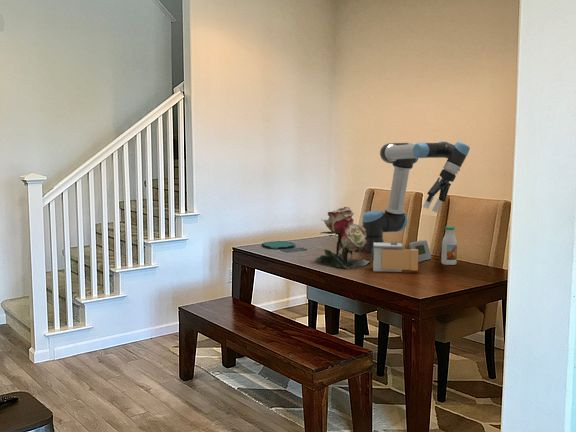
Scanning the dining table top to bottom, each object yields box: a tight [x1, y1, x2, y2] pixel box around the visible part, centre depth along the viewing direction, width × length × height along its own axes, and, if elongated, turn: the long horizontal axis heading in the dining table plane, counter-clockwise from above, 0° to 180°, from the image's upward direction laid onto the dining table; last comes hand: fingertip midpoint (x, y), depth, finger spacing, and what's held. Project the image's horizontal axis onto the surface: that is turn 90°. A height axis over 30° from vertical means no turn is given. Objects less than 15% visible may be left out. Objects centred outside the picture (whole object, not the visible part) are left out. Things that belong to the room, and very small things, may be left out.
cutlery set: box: [261, 240, 308, 253], centre depth 366 cm, size 20×30×2 cm, turn 32°
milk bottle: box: [440, 225, 458, 266], centre depth 318 cm, size 8×8×20 cm
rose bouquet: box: [309, 206, 371, 270], centre depth 319 cm, size 26×29×30 cm
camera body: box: [370, 241, 404, 273], centre depth 303 cm, size 15×11×14 cm
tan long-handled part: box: [382, 248, 419, 271], centre depth 297 cm, size 18×3×10 cm, turn 83°
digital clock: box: [408, 239, 432, 263], centre depth 327 cm, size 16×9×11 cm, turn 123°
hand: (429, 209), depth 304 cm, fingers open, 13 cm apart
